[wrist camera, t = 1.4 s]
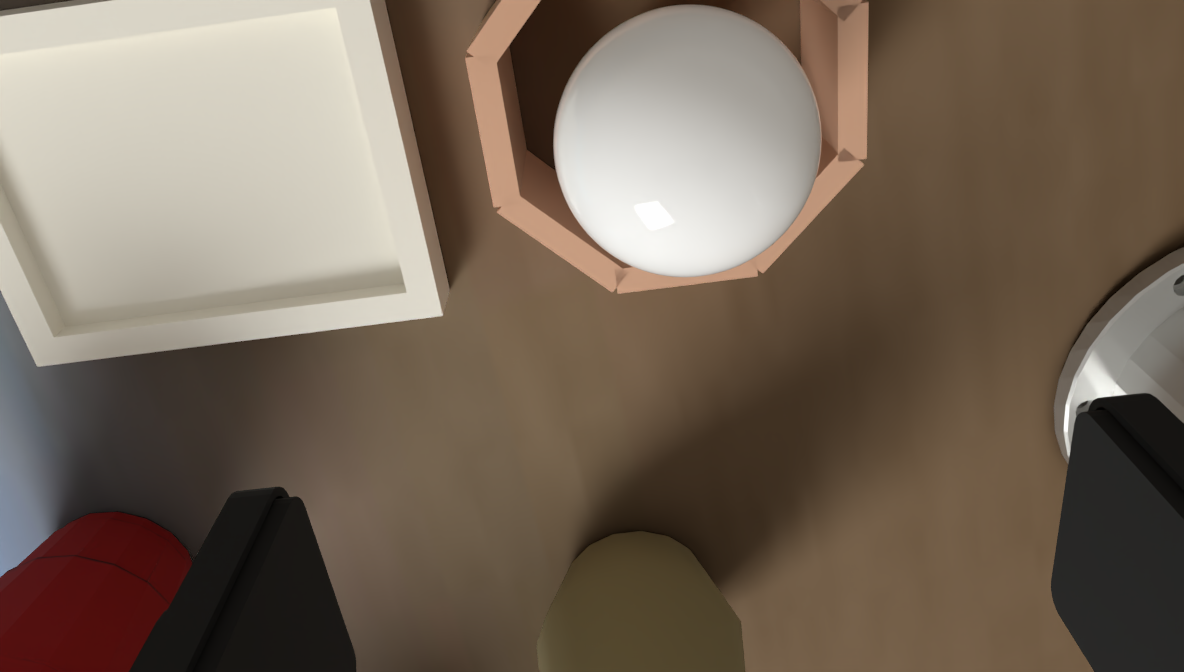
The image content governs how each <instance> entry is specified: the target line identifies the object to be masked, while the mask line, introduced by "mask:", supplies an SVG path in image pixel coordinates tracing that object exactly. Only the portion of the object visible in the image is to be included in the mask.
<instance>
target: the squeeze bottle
mask: <svg viewBox="0 0 1184 672" xmlns="http://www.w3.org/2000/svg"><path fill="white" fill-rule="evenodd" d="M537 655H538V667H539V672H745V663H744V652H743V640H742V629H741V621H740V620H739V618H738V617H737V615H736V614H735V612H734V611H733V610H732V608H731V607H730V605H729V604H728V602H727V601H726V599H725V598H724V597H723V595H722V594H721V592H720V591H719V589H718V588H717V587H716V585H715V584H714V583H713V581H712V580H711V578H710V577H709V576H708V574H707V573H706V571H705V570H704V569H703V567H702V566H701V564H700V563H699V562H698V560H697V559H696V557H695V556H694V555H693V553H692V552H691V550H690V549H689V548H687V547H685V546H684V545H682V544H680V543H679V542H677V541H675V540H674V539H672V538H670V537H669V536H665V535H660V534H655V533H649V532H644V531H636V532H627V533H619V534H612V535H610V536H608V537H606V538H604V539H602V540H600V541H597V542H595V543H593V544H591V545H589V546H588V547H587V548H586V549H585V550H584V551H583V552H582V553H581V554H580V555H579V556H578V557H577V558H576V559H575V560H574V561H573V562H572V564H571V566H570V568H569V570H568V572H567V574H566V576H565V578H564V580H563V582H562V584H561V586H560V588H559V590H558V592H557V594H556V596H555V598H554V600H553V603H552V605H551V607H550V609H549V611H548V613H547V615H546V617H545V620H544V623H543V627H542V630H541V633H540V636H539V639H538V642H537Z"/></svg>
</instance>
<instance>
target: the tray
mask: <svg viewBox="0 0 1184 672" xmlns="http://www.w3.org/2000/svg"><path fill="white" fill-rule="evenodd" d="M0 291H1V293H2V295H3V297H4V299H5V301H6V303H7V305H8V307H9V309H10V311H11V313H12V315H13V318H14V320H15V322H16V324H17V326H18V328H19V330H20V332H21V334H22V336H23V338H24V340H25V342H26V345H27V347H28V349H29V351H30V353H31V355H32V357H33V359H34V361H35V363H36V365H37V367H40V366H48V365H56V364H64V363H72V362H80V361H88V360H96V359H104V358H112V357H120V356H128V355H136V354H144V353H152V352H160V351H167V350H175V349H183V348H191V347H199V346H207V345H215V344H223V343H231V342H239V341H247V340H255V339H263V338H271V337H279V336H287V335H295V334H303V333H311V332H319V331H326V330H334V329H342V328H350V327H358V326H366V325H374V324H382V323H390V322H398V321H406V320H414V319H422V318H430V317H438V316H443V314H444V310H445V306H446V303H447V299H448V295H449V292H450V288H449V284H448V280H447V275H446V271H445V266H444V262H443V257H442V253H441V248H440V244H439V240H438V235H437V231H436V226H435V222H434V217H433V213H432V208H431V204H430V199H429V195H428V191H427V186H426V182H425V177H424V173H423V168H422V164H421V159H420V155H419V150H418V146H417V142H416V137H415V133H414V128H413V124H412V119H411V115H410V110H409V106H408V101H407V97H406V93H405V88H404V84H403V79H402V75H401V70H400V66H399V61H398V57H397V53H396V48H395V44H394V39H393V35H392V30H391V26H390V21H389V17H388V12H387V8H386V4H385V0H72V1H65V2H58V3H51V4H44V5H37V6H30V7H23V8H16V9H9V10H2V11H0Z"/></svg>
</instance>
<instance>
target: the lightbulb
mask: <svg viewBox="0 0 1184 672" xmlns="http://www.w3.org/2000/svg"><path fill="white" fill-rule="evenodd" d="M821 145H822V132H821V120H820V114H819V109H818V104H817V100H816V97H815V94H814V91H813V88H812V86H811V84H810V81H809V79H808V77H807V75H806V73H805V72H804V70H803V68H802V66H801V65H800V63H799V62H798V60H797V59H796V57H795V56H794V55H793V54H792V52H791V51H790V50H789V49H788V48H787V47H786V45H785V44H784V43H783V42H782V41H781V40H780V39H779V38H777V37H776V36H775V35H774V34H773V33H772V32H770V31H769V30H768V29H766V28H765V27H763V26H762V25H760V24H759V23H757V22H755V21H754V20H752V19H750V18H748V17H746V16H743V15H741V14H739V13H736V12H733V11H730V10H727V9H723V8H719V7H714V6H708V5H699V4H682V5H672V6H666V7H661V8H657V9H653V10H650V11H647V12H644V13H642V14H639V15H637V16H635V17H632V18H630V19H628V20H626V21H625V22H623V23H621V24H620V25H618V26H616V27H615V28H613V29H612V30H611V31H609V32H608V33H607V34H605V35H604V36H603V37H602V38H601V39H600V40H598V41H597V42H596V43H595V44H594V45H593V46H592V47H591V48H590V50H589V51H588V52H587V53H586V54H585V55H584V57H583V58H582V59H581V61H580V62H579V63H578V65H577V66H576V68H575V69H574V71H573V73H572V75H571V76H570V78H569V80H568V82H567V84H566V86H565V89H564V91H563V94H562V96H561V99H560V102H559V106H558V109H557V114H556V118H555V124H554V134H553V152H554V162H555V168H556V173H557V177H558V181H559V185H560V187H561V190H562V193H563V196H564V198H565V200H566V202H567V204H568V206H569V208H570V210H571V212H572V213H573V215H574V217H575V218H576V220H577V221H578V223H579V224H580V225H581V227H582V228H583V229H584V230H585V232H586V233H587V234H588V235H589V236H590V237H591V238H592V239H593V240H594V241H595V242H596V243H597V244H598V245H599V246H600V247H602V248H603V249H604V250H605V251H607V252H608V253H609V254H611V255H612V256H614V257H615V258H617V259H619V260H620V261H622V262H624V263H626V264H628V265H630V266H632V267H635V268H637V269H640V270H643V271H646V272H649V273H653V274H657V275H663V276H669V277H699V276H706V275H712V274H716V273H720V272H723V271H727V270H730V269H732V268H735V267H737V266H739V265H742V264H744V263H746V262H748V261H749V260H751V259H753V258H755V257H756V256H758V255H759V254H761V253H762V252H764V251H765V250H766V249H768V248H769V247H770V246H772V245H773V244H774V243H775V242H776V241H777V240H778V239H779V238H780V237H781V236H782V235H783V234H784V233H785V232H786V231H787V230H788V229H789V228H790V226H791V225H792V224H793V222H794V221H795V220H796V218H797V217H798V215H799V214H800V212H801V211H802V209H803V207H804V205H805V204H806V202H807V200H808V198H809V195H810V193H811V191H812V188H813V186H814V183H815V180H816V176H817V173H818V168H819V163H820V157H821Z"/></svg>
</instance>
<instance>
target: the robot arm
mask: <svg viewBox="0 0 1184 672" xmlns="http://www.w3.org/2000/svg"><path fill="white" fill-rule="evenodd" d="M1054 422H1055V433H1056V437H1057V440H1058V443H1059V446H1060V450H1061V453H1062V455H1063V457H1064V458H1065V460H1066V461H1067V463H1068V470H1067V477H1066V484H1065V490H1064V497H1063V504H1062V511H1061V518H1060V525H1059V532H1058V539H1057V545H1056V552H1055V559H1054V566H1053V573H1052V580H1051V591H1052V597H1053V601H1054V604H1055V607H1056V610H1057V612H1058V614H1059V616H1060V617H1061V619H1062V621H1063V622H1064V624H1065V625H1066V627H1067V628H1068V630H1069V632H1070V633H1071V635H1072V636H1073V638H1074V640H1075V641H1076V643H1077V644H1078V646H1079V648H1080V649H1081V651H1082V652H1083V654H1084V656H1085V657H1086V659H1087V660H1088V662H1089V664H1090V665H1091V667H1092V668H1093V670H1094V672H1184V247H1183V248H1180V249H1178V250H1176V251H1174V252H1172V253H1170V254H1168V255H1167V256H1165V257H1164V258H1162V259H1161V260H1159V261H1157V262H1156V263H1154V264H1153V265H1151V266H1149V267H1148V268H1146V269H1145V270H1143V271H1142V272H1140V273H1139V274H1137V275H1136V276H1135V277H1134V278H1133V279H1132V280H1130V281H1129V282H1128V283H1127V284H1126V285H1125V286H1123V287H1122V288H1121V289H1120V290H1119V291H1117V292H1116V293H1115V294H1114V295H1113V296H1112V297H1111V298H1110V299H1109V300H1108V301H1107V302H1106V303H1105V304H1104V306H1103V307H1102V308H1101V309H1100V310H1099V311H1098V312H1097V314H1096V315H1095V316H1094V317H1093V318H1092V319H1091V320H1090V322H1089V323H1088V324H1087V325H1086V327H1085V329H1084V330H1083V332H1082V333H1081V335H1080V337H1079V338H1078V340H1077V341H1076V343H1075V344H1074V346H1073V348H1072V349H1071V351H1070V353H1069V355H1068V358H1067V360H1066V363H1065V365H1064V368H1063V370H1062V373H1061V375H1060V378H1059V381H1058V386H1057V392H1056V397H1055V403H1054ZM129 672H356V658H355V653H354V649H353V646H352V643H351V640H350V637H349V634H348V632H347V629H346V626H345V623H344V620H343V617H342V614H341V611H340V608H339V605H338V602H337V599H336V596H335V593H334V590H333V587H332V585H331V582H330V579H329V576H328V573H327V570H326V567H325V564H324V561H323V558H322V555H321V552H320V549H319V546H318V543H317V540H316V537H315V535H314V532H313V529H312V526H311V523H310V520H309V517H308V514H307V511H306V508H305V506H304V503H303V501H302V500H301V499H300V498H299V497H289V495H288V493H287V492H286V491H285V489H284V488H282V487H271V488H262V489H253V490H244V491H236V492H234V493H232V494H231V495H230V497H229V498H228V500H227V501H226V503H225V505H224V507H223V509H222V511H221V512H220V514H219V516H218V518H217V520H216V522H215V523H214V525H213V527H212V529H211V531H210V532H209V534H208V536H207V538H206V540H205V542H204V543H203V545H202V547H201V549H200V551H199V553H198V554H197V556H196V558H195V560H194V562H193V564H192V565H191V567H190V569H189V571H188V573H187V575H186V576H185V578H184V580H183V582H182V584H181V586H180V587H179V589H178V591H177V593H176V595H175V597H174V598H173V600H172V602H171V604H170V606H169V608H168V609H167V610H166V611H164V612H163V614H162V615H161V616H160V618H159V619H158V620H157V622H156V623H155V625H154V627H153V629H152V631H151V632H150V634H149V636H148V638H147V640H146V641H145V643H144V645H143V647H142V649H141V650H140V652H139V654H138V656H137V658H136V660H135V661H134V663H133V665H132V667H131V669H130V670H129Z"/></svg>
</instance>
